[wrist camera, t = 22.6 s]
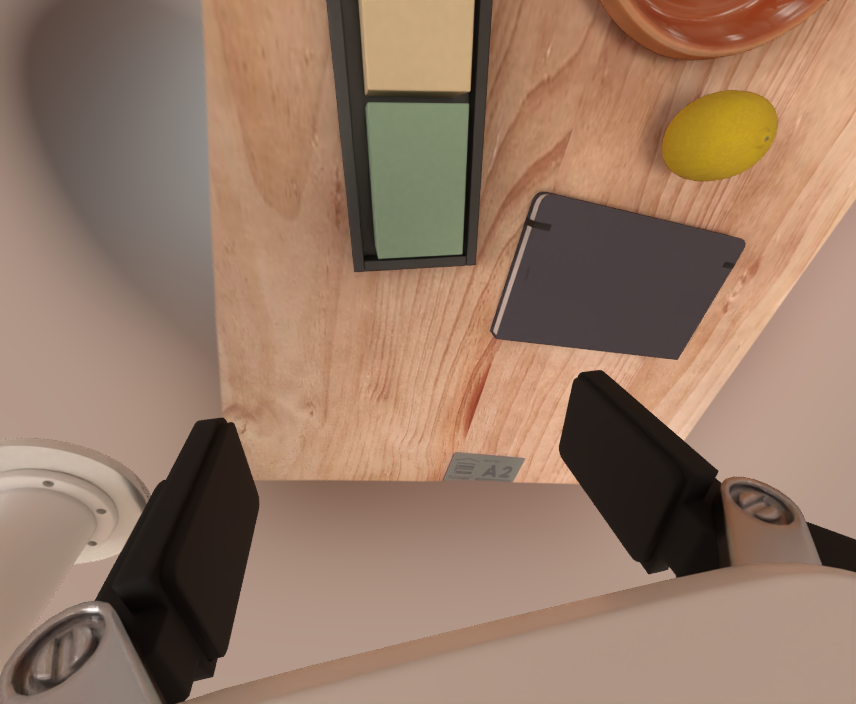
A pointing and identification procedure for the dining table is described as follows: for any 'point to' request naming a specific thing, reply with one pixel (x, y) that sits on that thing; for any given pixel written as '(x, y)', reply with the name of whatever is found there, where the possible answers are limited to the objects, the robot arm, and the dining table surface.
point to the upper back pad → (416, 47)
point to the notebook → (610, 279)
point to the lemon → (719, 135)
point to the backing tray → (354, 102)
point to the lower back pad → (417, 177)
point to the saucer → (707, 24)
